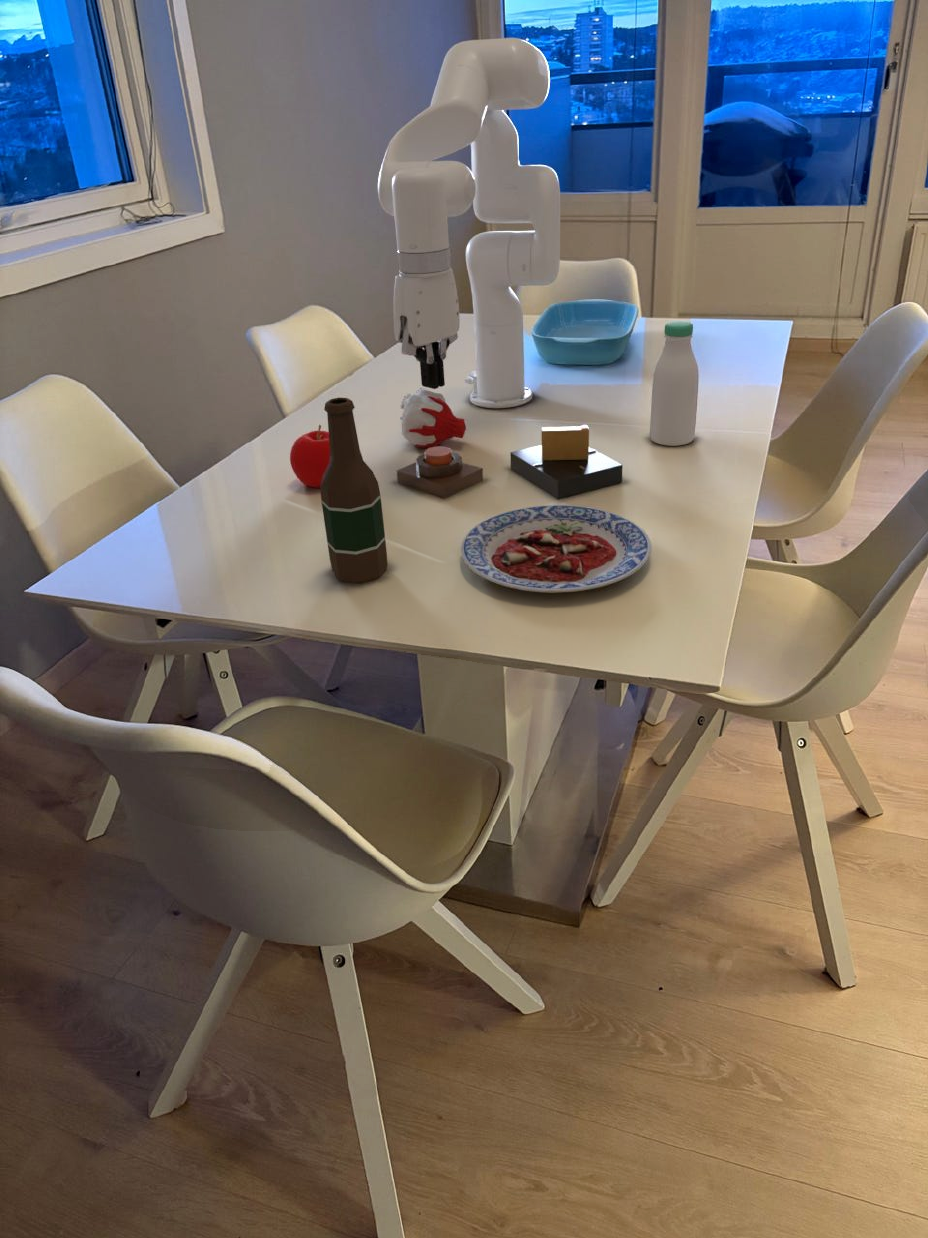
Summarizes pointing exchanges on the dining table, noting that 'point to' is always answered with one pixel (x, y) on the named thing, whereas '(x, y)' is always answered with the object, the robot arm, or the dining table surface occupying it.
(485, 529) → the ceramic plate
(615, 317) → the casserole dish
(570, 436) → the tap lever
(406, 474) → the button block
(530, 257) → the robot arm
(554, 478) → the plate
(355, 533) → the beer bottle
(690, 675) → the dining table surface
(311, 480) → the fruit
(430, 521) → the dining table surface
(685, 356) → the milk bottle
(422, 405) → the white and red skull
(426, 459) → the button
